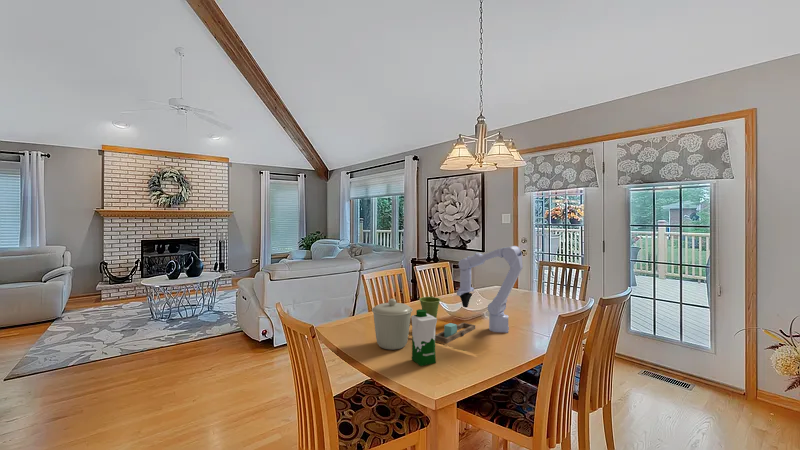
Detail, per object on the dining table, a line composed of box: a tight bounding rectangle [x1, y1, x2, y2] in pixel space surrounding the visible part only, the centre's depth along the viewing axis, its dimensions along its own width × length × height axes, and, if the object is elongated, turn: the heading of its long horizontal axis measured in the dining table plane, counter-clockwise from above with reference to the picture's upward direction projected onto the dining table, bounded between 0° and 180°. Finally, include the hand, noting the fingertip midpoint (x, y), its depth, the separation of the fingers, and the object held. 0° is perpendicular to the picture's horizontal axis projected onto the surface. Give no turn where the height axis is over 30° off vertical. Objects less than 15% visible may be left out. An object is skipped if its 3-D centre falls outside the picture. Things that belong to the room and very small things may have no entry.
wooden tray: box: [435, 322, 476, 346], centre depth 174 cm, size 26×8×3 cm, turn 140°
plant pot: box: [418, 296, 442, 318], centre depth 202 cm, size 12×12×11 cm
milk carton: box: [410, 308, 438, 367], centre depth 145 cm, size 9×9×20 cm
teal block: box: [443, 322, 458, 338], centre depth 171 cm, size 5×4×6 cm
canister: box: [371, 298, 414, 351], centre depth 161 cm, size 18×18×21 cm
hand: (465, 306), depth 191 cm, fingers closed
